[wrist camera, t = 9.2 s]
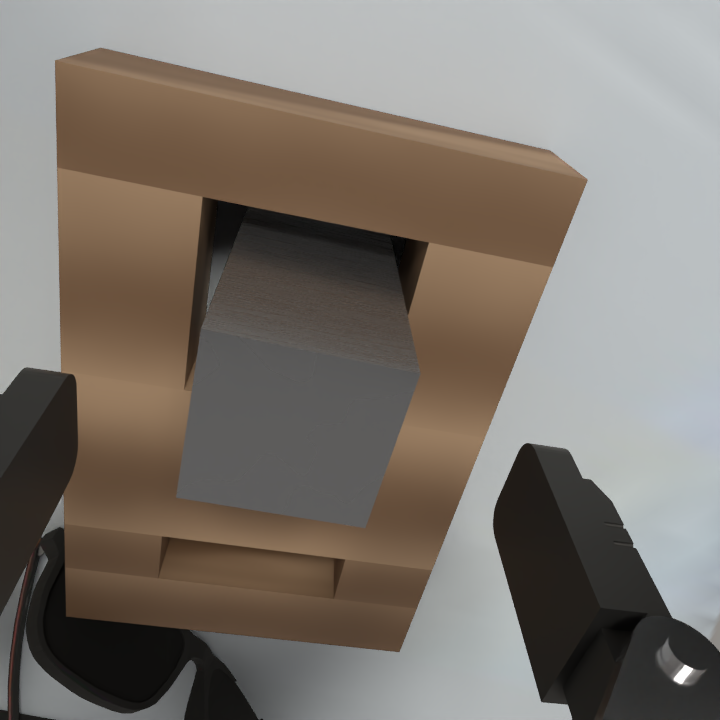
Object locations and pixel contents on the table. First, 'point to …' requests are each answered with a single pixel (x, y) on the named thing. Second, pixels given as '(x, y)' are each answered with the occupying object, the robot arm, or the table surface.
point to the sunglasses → (112, 653)
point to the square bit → (300, 372)
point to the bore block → (188, 311)
